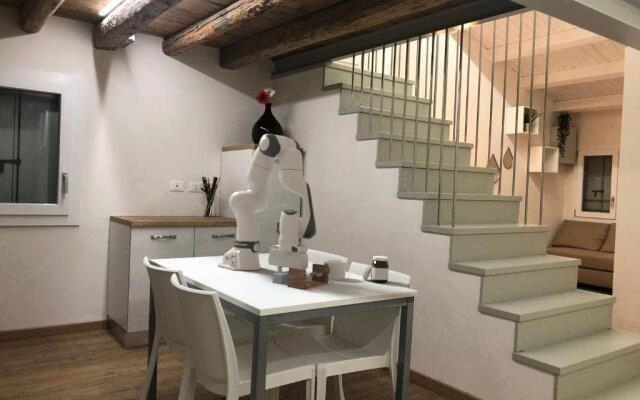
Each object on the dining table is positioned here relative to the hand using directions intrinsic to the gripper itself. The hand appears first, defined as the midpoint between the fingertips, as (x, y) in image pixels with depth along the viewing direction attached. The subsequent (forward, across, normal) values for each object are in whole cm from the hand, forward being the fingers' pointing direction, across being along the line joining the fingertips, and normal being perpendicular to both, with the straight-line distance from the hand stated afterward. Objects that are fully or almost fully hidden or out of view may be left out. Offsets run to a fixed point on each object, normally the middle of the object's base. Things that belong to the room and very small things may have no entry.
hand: (287, 277), depth 235 cm
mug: (+2, +9, +24) cm, 26 cm away
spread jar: (+2, +28, +31) cm, 42 cm away
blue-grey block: (+2, 0, 0) cm, 2 cm away
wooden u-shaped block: (+2, +12, 0) cm, 12 cm away
